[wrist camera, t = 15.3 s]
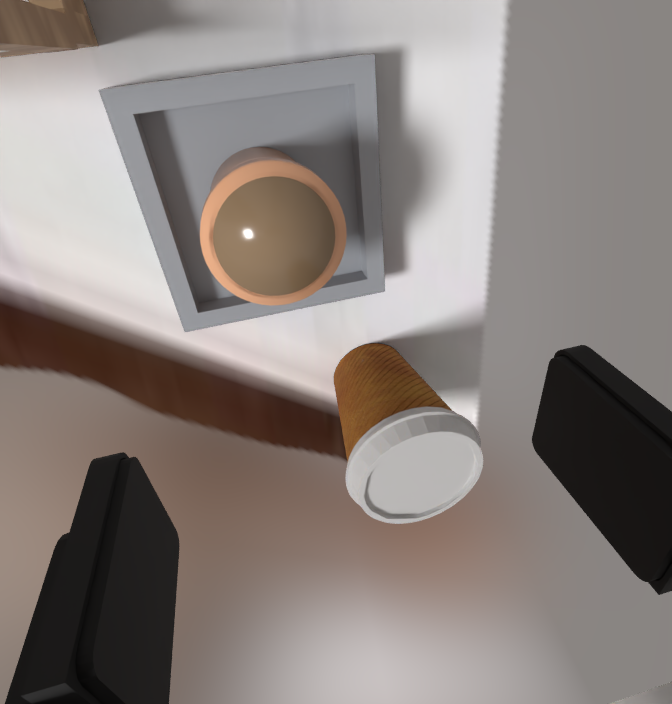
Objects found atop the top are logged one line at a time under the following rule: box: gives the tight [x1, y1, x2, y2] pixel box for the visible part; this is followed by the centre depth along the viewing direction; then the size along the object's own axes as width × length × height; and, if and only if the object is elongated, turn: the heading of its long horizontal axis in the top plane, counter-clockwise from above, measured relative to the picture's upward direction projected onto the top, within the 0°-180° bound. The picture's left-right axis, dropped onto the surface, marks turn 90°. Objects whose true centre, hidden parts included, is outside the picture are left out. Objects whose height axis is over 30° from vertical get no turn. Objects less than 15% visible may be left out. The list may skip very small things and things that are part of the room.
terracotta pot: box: [200, 147, 347, 305], centre depth 25 cm, size 7×7×7 cm
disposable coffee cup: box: [334, 343, 483, 524], centre depth 33 cm, size 10×10×12 cm
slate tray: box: [99, 54, 385, 332], centre depth 27 cm, size 14×14×2 cm
